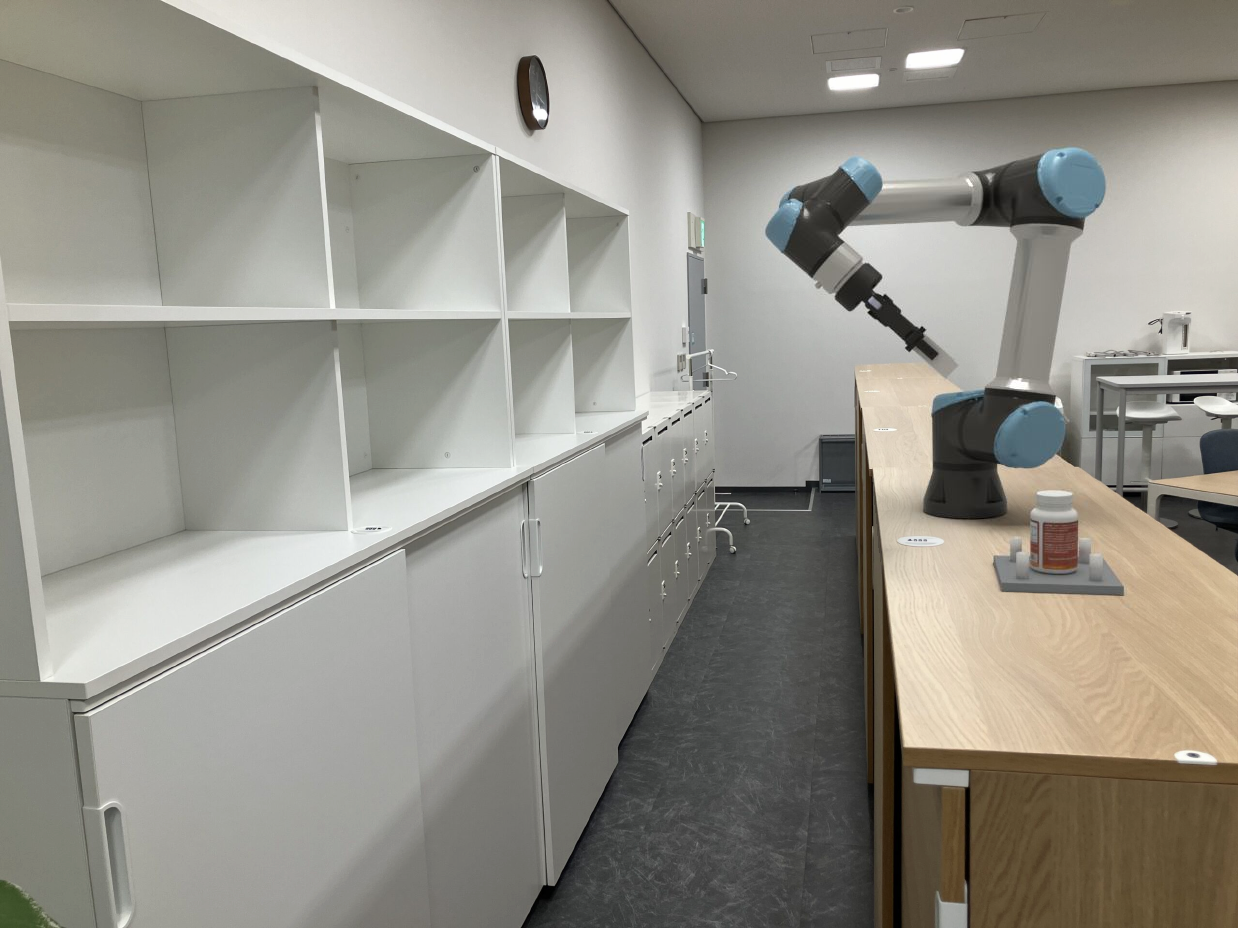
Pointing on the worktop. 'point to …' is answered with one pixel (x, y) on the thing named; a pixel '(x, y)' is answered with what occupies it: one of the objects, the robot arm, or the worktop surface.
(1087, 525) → the worktop surface
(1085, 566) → the peg board
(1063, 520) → the pill bottle
